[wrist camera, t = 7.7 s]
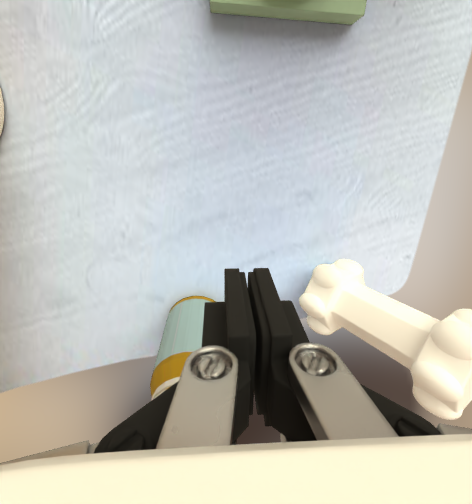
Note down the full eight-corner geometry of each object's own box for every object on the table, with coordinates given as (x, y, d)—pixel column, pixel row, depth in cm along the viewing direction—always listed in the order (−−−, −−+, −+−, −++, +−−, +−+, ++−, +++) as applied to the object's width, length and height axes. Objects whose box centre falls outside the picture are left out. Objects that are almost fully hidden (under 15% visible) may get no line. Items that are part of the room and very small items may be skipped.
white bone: (352, 288, 36) (309, 335, 34) (336, 239, 31) (285, 291, 29) (503, 362, 25) (452, 439, 23) (518, 302, 20) (453, 395, 18)
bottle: (204, 282, 33) (195, 390, 20) (237, 323, 36) (249, 444, 22) (156, 311, 35) (116, 432, 21) (191, 349, 37) (175, 479, 23)
